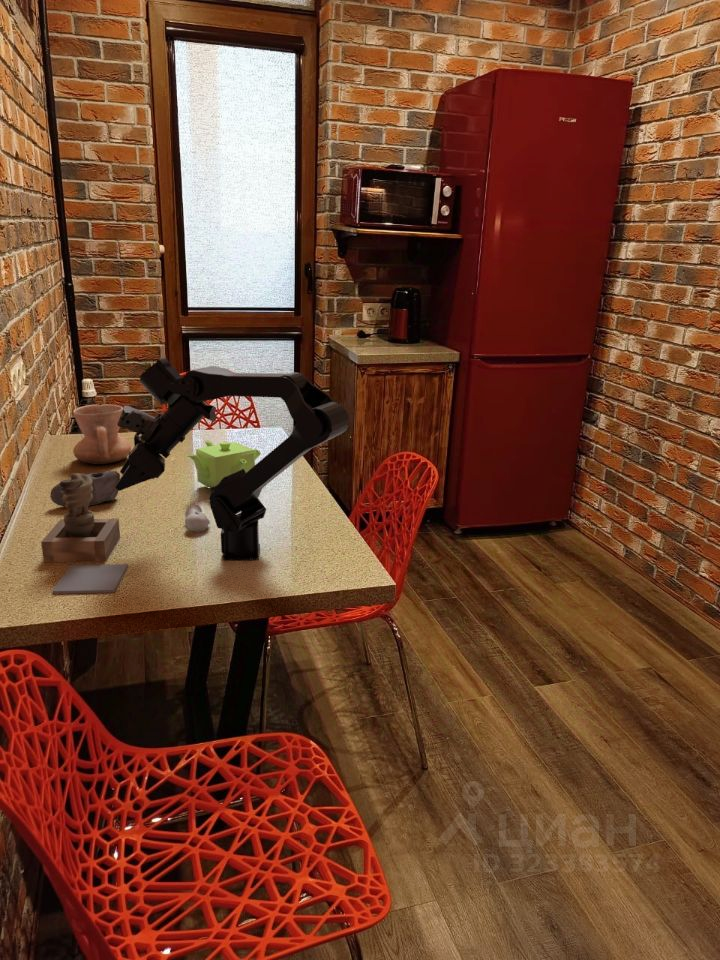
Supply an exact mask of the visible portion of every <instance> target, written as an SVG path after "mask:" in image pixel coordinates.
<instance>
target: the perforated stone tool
mask: <svg viewBox="0 0 720 960" xmlns="http://www.w3.org/2000/svg"><path fill="white" fill-rule="evenodd" d="M86 475H88V476H89V477H90V478H91V479H92V487H93V491H92V495H93V497H92V500H91V501H90V503H89V506H93V505H94V506H95V505H100V504H102V503H104V502H107V503H108V502H113V501H115V499H116V497H117V496H118V494H119V492H120V491H119V490H117V489H116V488H115V486H116V484H117V483H118V481H119V480H120V478H121V473H120V472H118V471H117V470H112V471H111V470H110V471H101V472H100V471H99V472H91V473H88V474H86ZM69 479H70V478H68V479H67V480H69ZM61 489H62V487H61V486H60V482H59V483H57V484H56V485H54V486H53V487H52V489H50V490H51V491H50V495H49V496H50V501H52V502H53V503H54V504H56V505H57V506H60V507H66V506H65V505H66V502H65V501H63V499H62V498H63V496H64V494H62V493H61Z"/></svg>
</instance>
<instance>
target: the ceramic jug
mask: <svg viewBox="0 0 720 960" xmlns="http://www.w3.org/2000/svg"><path fill="white" fill-rule="evenodd" d="M123 408H124V407H123V406H121V405H117V404H108V403H106V404H101V405H99V404H89V405H84V406H83V405H82V406H80V407H78V408H74V409H73V415H74V418H75V421H76V423H77V425H78V427H79V429H80V431H81V432H82V434H83V436H84V437H83V438H81V440H80V441H78V442H77V443H76V444H75V445H74V447H73V449H72V451H73V455H74V457H75V458H76V459H77V460H79V461H81V462H83V463H85V464H93V465H105V464H112V463H116V462H120V461H122V460H125V458H128V456H129V453H130V452H131V450H132V446H131V444H130V442H129V441H128V440H127V439H125V438H124V437H121V436H120V435H119V434H118V433H119V430H120V428H121V427H119V426H117V423H118V421H119V418H120V416H121V413H122V411H123Z"/></svg>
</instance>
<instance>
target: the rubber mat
mask: <svg viewBox="0 0 720 960" xmlns="http://www.w3.org/2000/svg"><path fill="white" fill-rule="evenodd" d="M128 567H129V564H128V563H121V564H120V563H113V564H112V563H110V564H109V563H108V564H105V563H104V564H70V565H69V566H68V568H67V570H66V571H65V573H63V575H62V576H61V578H60V579H59V581H58V582H57V584H56V585H55V586H54V588H53V589H52V590H51V593H52V595H54V594H55V595H57V594H58V595H63V594H64V595H65V594H68V595H69V594H102V593H104V594H107V593H108V594H109V593H111V594H113V593H116V590H117V588H118V587H119V585H120V583H121V581H122V579H123V578H124V576H125V574H126V572H127V570H128Z"/></svg>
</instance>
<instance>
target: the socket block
mask: <svg viewBox="0 0 720 960" xmlns="http://www.w3.org/2000/svg"><path fill="white" fill-rule="evenodd" d="M119 519H120V518H94V528H93V530H92V531H91V533H90V534H89V537H77V538H73V537H72V536H71V535H70V534H69V533H68V532H67V531H66V529H65V523H64V518H62V519H59V520H58V522H57V523H56V524H55V525H54V526H53V527H52V528H51V530H50V531H49V532H48V533H47V534H46V536H44V538H43V539H42V540H41V541H40V544H41V550H42V551H41V552H42V558H43V563H63V562H64V563H66V562H67V563H72V562H73V563H74V562H77V563H78V562H81V563H82V562H107V560H108V558H109V557H110V555H111V553H112V552H113V550H114V548H115V547H116V545H117V544H118V542H119V540H120V539H121V532H120V530H121V529H120V521H119Z"/></svg>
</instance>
